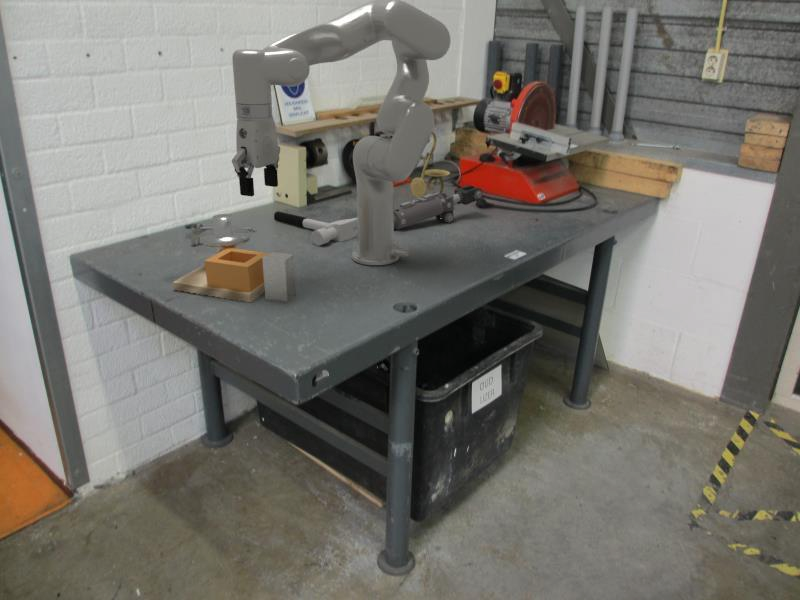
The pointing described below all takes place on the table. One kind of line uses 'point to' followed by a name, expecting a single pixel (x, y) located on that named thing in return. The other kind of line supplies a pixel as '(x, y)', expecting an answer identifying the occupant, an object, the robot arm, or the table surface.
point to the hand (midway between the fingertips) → (259, 190)
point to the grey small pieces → (198, 230)
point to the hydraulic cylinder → (434, 206)
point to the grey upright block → (279, 276)
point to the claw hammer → (322, 227)
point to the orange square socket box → (226, 265)
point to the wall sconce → (418, 183)
